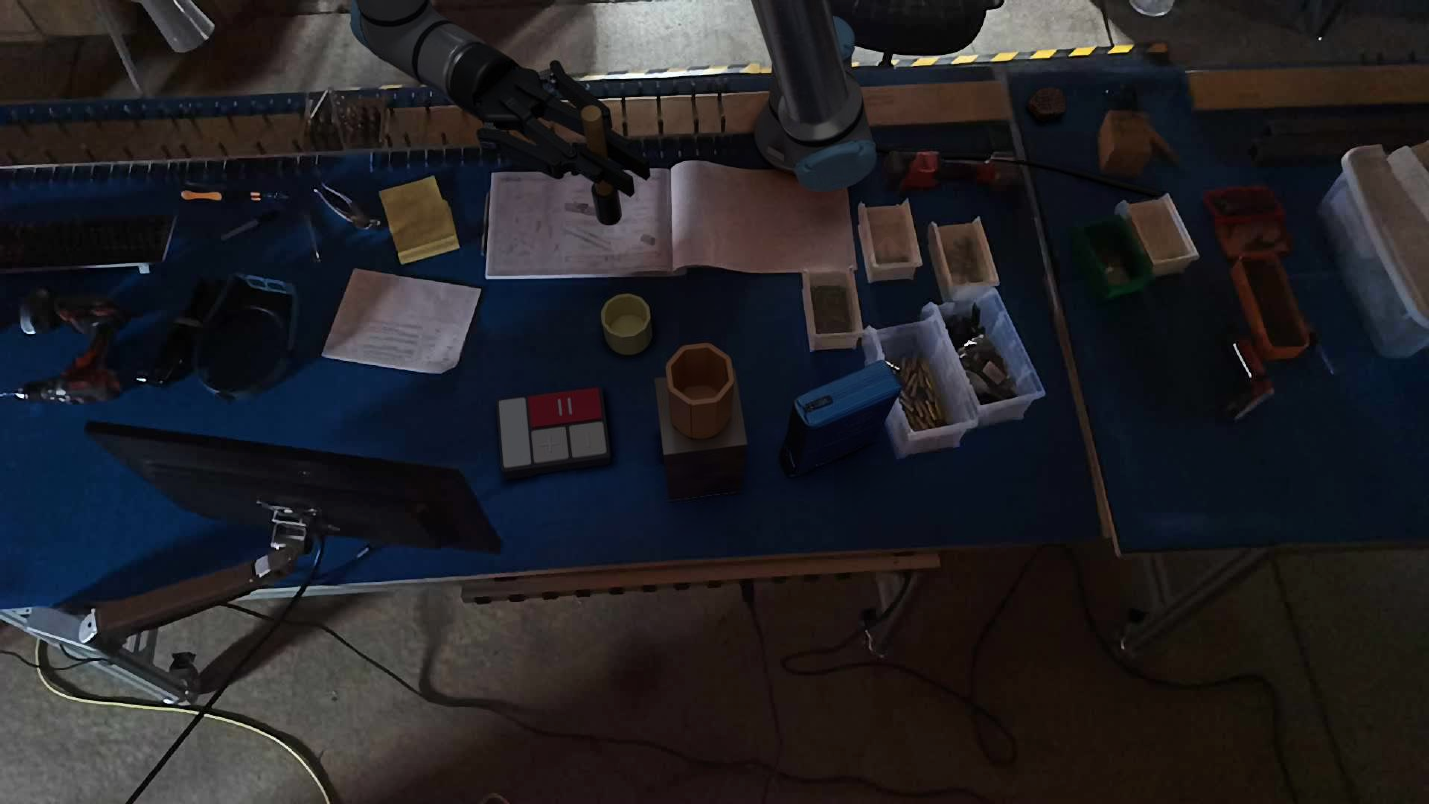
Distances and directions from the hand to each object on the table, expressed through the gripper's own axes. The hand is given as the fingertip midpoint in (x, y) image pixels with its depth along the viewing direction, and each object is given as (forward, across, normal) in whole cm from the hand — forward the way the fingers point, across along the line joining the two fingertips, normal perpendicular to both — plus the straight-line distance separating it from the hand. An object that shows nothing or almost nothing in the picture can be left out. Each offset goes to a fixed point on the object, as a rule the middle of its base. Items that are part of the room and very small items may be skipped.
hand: (639, 178), depth 88 cm
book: (+28, -2, -42) cm, 51 cm away
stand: (+15, +10, -42) cm, 46 cm away
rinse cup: (-6, 0, -42) cm, 42 cm away
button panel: (-4, +19, -42) cm, 46 cm away
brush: (-6, 0, -11) cm, 12 cm away
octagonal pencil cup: (+15, +10, -22) cm, 28 cm away
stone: (+24, -77, -42) cm, 91 cm away
